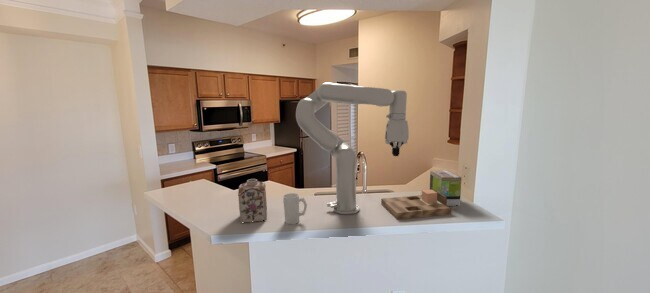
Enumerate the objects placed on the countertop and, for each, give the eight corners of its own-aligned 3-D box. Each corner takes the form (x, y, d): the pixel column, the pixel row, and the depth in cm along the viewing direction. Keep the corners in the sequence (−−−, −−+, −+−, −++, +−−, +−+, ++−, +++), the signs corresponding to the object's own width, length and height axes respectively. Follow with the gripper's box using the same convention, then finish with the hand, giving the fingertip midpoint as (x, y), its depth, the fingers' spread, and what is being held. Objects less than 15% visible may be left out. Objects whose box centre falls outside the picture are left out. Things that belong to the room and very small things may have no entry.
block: (427, 203, 124) (427, 193, 123) (421, 200, 129) (421, 190, 128) (436, 202, 124) (437, 192, 124) (431, 199, 129) (431, 189, 129)
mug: (283, 225, 112) (282, 198, 111) (285, 218, 119) (284, 193, 117) (306, 224, 112) (305, 197, 111) (307, 218, 119) (306, 192, 117)
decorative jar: (267, 211, 128) (265, 175, 126) (267, 220, 117) (264, 182, 115) (242, 214, 126) (239, 178, 123) (239, 224, 115) (236, 184, 112)
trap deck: (397, 219, 114) (397, 204, 113) (381, 204, 133) (381, 191, 132) (451, 214, 118) (451, 199, 117) (428, 200, 137) (428, 187, 136)
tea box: (460, 206, 127) (462, 176, 125) (440, 206, 128) (441, 177, 126) (447, 196, 142) (448, 169, 140) (428, 196, 143) (429, 170, 140)
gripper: (385, 117, 117) (383, 157, 120) (416, 117, 120) (413, 156, 122) (379, 117, 125) (377, 154, 127) (408, 117, 127) (406, 154, 129)
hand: (395, 155), depth 125 cm, fingers closed
